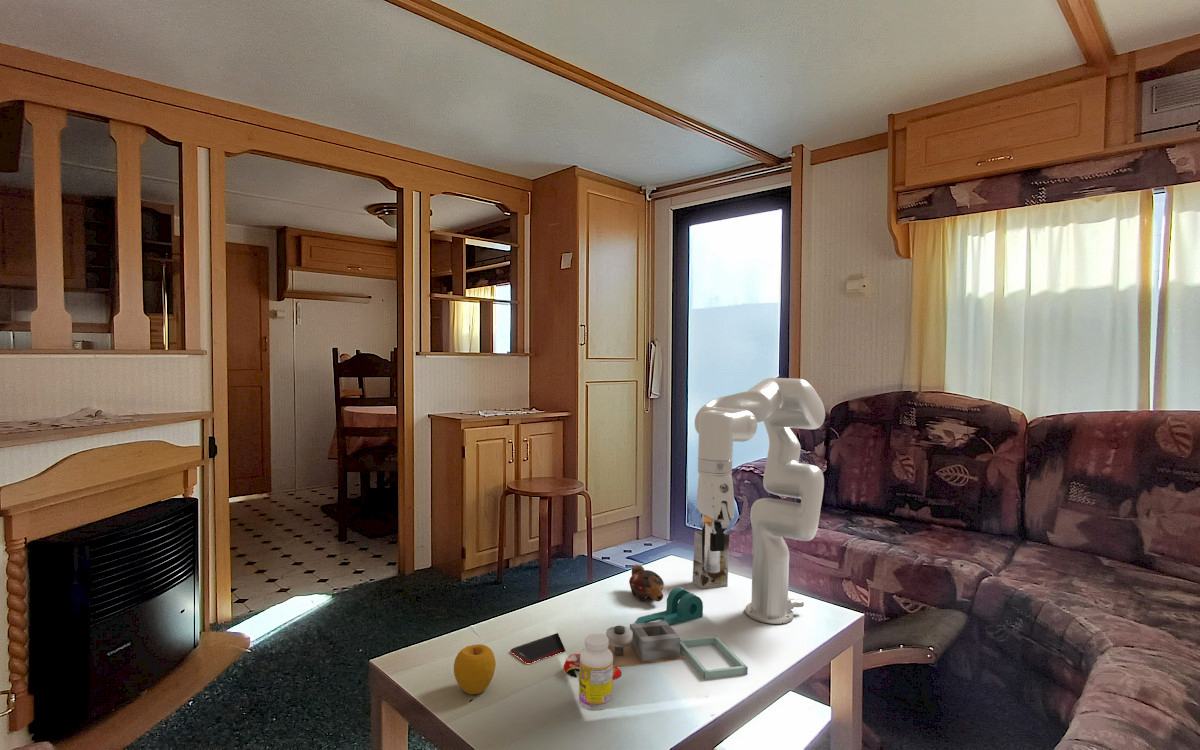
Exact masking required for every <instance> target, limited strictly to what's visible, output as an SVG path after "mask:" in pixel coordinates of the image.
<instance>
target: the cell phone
mask: <svg viewBox="0 0 1200 750" xmlns="http://www.w3.org/2000/svg"><path fill="white" fill-rule="evenodd" d="M564 651H565V652H566V651H567V650H566V649H565V647H564V643H563V642H562V639H561V637H560V635H559V633H558V632H555V633H553V634H549V635H547V636H545V637H542V638H539V639H536V640H534V641H530V642H527V643H523V644H522V645H519V646H516V647H513V648H511V649H510V653H511V652H512V653H514V654H515V655H516V656H518V657H519V658H521V659H522V660H523V661H524V662H526V663H532V662H534V661H537V660H539V659H542V660H544V659H543V658H545V657H549V656H551V657H554V656H556V655H555V654H557V655H559V654H558V653H560V652H562V653H565V652H564ZM560 654H561V653H560ZM553 655H554V656H553ZM549 658H550V657H549ZM545 659H546V658H545ZM524 662H523V663H524ZM537 662H538V661H537ZM532 664H533V663H532Z"/></svg>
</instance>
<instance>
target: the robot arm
mask: <svg viewBox="0 0 1200 750" xmlns="http://www.w3.org/2000/svg"><path fill="white" fill-rule="evenodd" d="M825 419H826V409H825V405H824V402H823V401H822V399H821V398H820V396H819V394H818V393H817V391H816V390H815V388H814V387H813V386H812V385H811V384H810V383H809V382H808V381H807V380H805V379H802V378H794V377H793V378H790V377H789V378H788V377H787V378H786V377H769V378H766V379H763V380H761V381H760V382H757V384H755V385H754V386H752V387H750V388H749V389H747V391H742V392H741V391H740V392H738V393H734V394H733V393H732V394H729V395H725V396H721V397H718V398H714V399H712V400H710V401H709V402H707V403H706V404H704V405H703V406H701V408H699V410H698V411H697V413H696V415H695V418H694V429H695V431H696V433H697V434H698V451H697V453H698V455H697V473H698V480H697V492H696V493H697V494H696V505H697V506H696V507H697V510H698V511H699V514H700V518H701V522H700V523H701V531H702V545H704V546H705V522H704V521H703V515H706V516H707V517H709V518H711V519H712V533H710V551H712V552H713V551H723V550H724V536H725V533H727V532H726V531H727V528H728V527H730V525H731V523H730V522H731V521H732V520H734V518H735V493H734V483H733V476H732V474H733V446H734V442H738V443H739V442H740V443H741V442H742V443H745V442H747V441H749V440H751V439H752V438H753V437H754V436H755V435H756V433H757V429H758V423H762V422H763V423H764V427H765V429H766V433H767V435H768V440H769V441H768V442H769V443H768V444H769V445H768V452H767V457H766V461H765V467H764V471H763V478H762V482H763V483H762V484H763V485H762V486H763V488H764V490H765V491H766V492H767V493H769V494H773V495H775V496H780V497H787V498H794V499H799V500H801V501H800V502H794V501H788V500H784V499H783V500H782V499H777V498H771V497H764V498H763V497H762V498H759V499H756V500H755V501H754V502H753V503H752V505H751V508H750V514H749V515H750V523H751V531H752V545H753V546H752V575H751V601H750V602H749V603H747V604H746V605H745V607H744V608H745V610H744V611H745V614H746V615H747V616H748V617H749V618H751V619H753V620H755V621H758V622H760V623H766V624H770V625H771V624H772V625H775V624H776V625H778V624H779V625H781V624H782V623H783V624H787V623H790V622H792V621H793V619H794V612H793V609H794V608H802V607H804V605H805V603H804V601H803V599H800V598H799V599H795V598H794V597H792V596H791V597H790V596H789V575H790V574H789V573H790V550H789V547H788V545H787V543H786V541H785V539H792V540H796V541H800V542H801V541H802V542H809V541H812V540H813V539H814V538H815V537H816V534H817V531H818V528H819V523H820V516H821V511H822V510H821V508H822V502H823V497H824V489H825V476H824V473H823V471H822V469H821V468H820V467H818V466H817V465H814V464H809V463H803V462H802V463H800V455H801V449H802V446H801V444H800V442H799V439H798V437H797V436H796V434H795V433H794V431H793V430H792V429H801V430H802V429H803V430H818V429H819V428H821V426H823V424H824V422H825ZM718 516H721V519H718ZM716 522H721V523H719V524H717V526H716ZM784 538H785V539H784Z"/></svg>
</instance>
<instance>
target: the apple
mask: <svg viewBox="0 0 1200 750" xmlns="http://www.w3.org/2000/svg"><path fill="white" fill-rule="evenodd" d="M496 665H497V661H496V659H495V654H494V651H493V650H492V649H491V647H489V646H487V645H484V644H481V643H480V644H479V643H478V644H472V645H468V646H465V647H463V648H462V649H461V650H460V651H459V652H458V654H457V655H456V656H455V658H454V663H453V674H454V678H455V681H456V683H457V685H458V687H459V688H461V690H462V691H463V692H464V693H466V694H468V695H471V696H472V695H473V696H474V694H475V695H479V694H481V693H483V692H484V691H486V689H487V688H488V687H489V685H490V684H491V682H492V680H493V678H494V675H495V670H496Z"/></svg>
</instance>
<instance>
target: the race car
mask: <svg viewBox="0 0 1200 750" xmlns="http://www.w3.org/2000/svg"><path fill="white" fill-rule="evenodd" d="M580 654H581V653H574V654H573V653H572V654H570V656H568V657H567V658H566V659H565V662H564V664H563V671H564V672H565V674H566V675H570V677H572V678H574V679H576V678H577V677H578V676H577V673H576V672H578V673H580ZM620 677H622V671H621V669H620V667H615V666H613V679H612V681H615V680H618V679H620Z"/></svg>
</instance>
